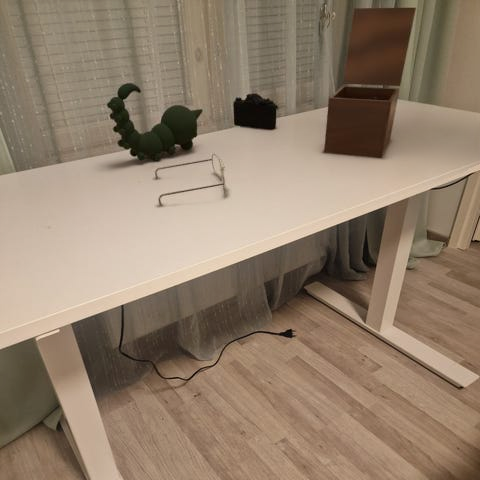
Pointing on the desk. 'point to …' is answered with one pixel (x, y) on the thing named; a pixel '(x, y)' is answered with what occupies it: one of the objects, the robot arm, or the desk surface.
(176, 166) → the eyeglasses
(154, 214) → the desk surface
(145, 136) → the toy figurine
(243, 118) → the film camera
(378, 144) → the chest
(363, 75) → the lid
